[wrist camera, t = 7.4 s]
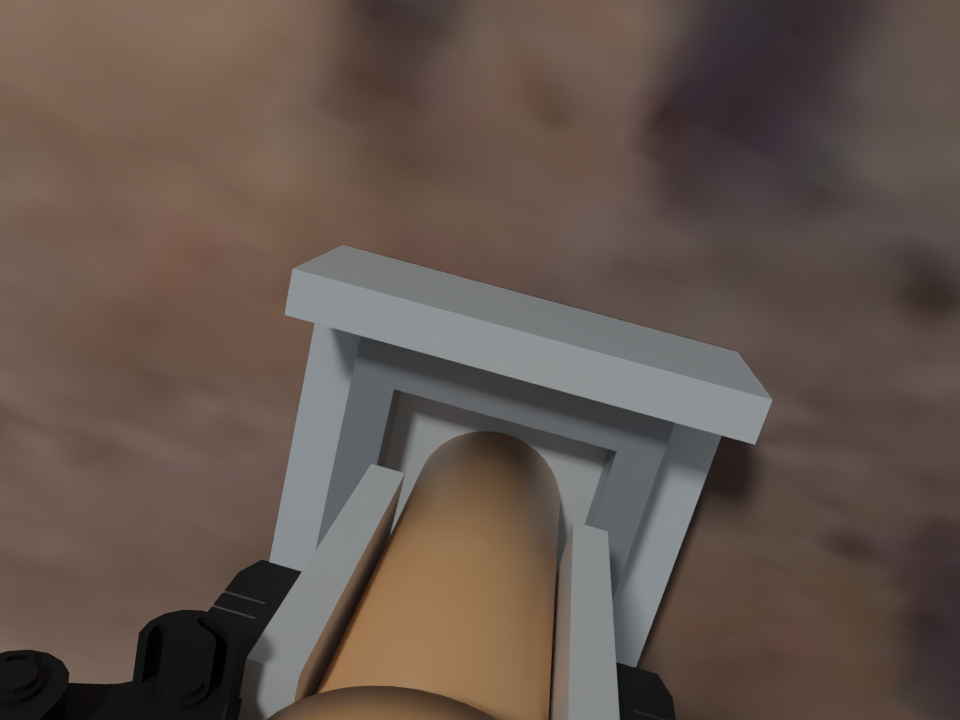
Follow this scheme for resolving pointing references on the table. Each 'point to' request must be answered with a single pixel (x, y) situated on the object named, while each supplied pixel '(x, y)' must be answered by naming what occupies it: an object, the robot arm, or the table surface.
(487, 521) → the tan ball-headed post
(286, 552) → the tray
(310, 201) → the table surface
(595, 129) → the table surface
